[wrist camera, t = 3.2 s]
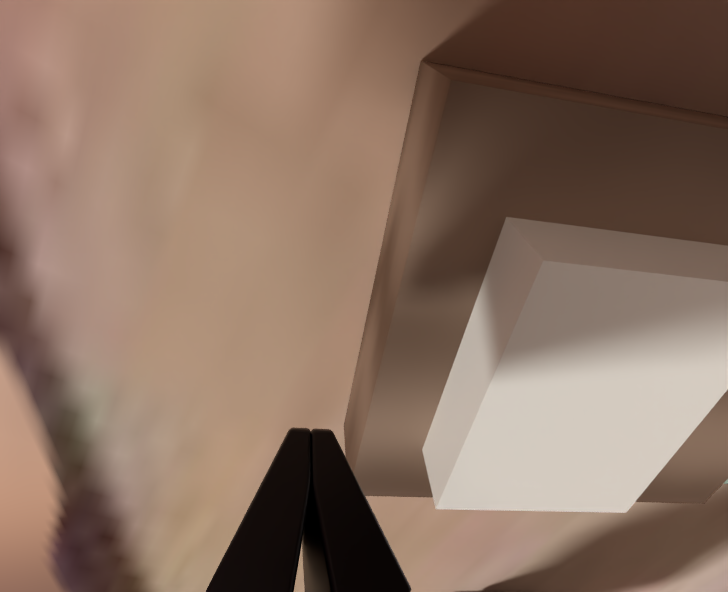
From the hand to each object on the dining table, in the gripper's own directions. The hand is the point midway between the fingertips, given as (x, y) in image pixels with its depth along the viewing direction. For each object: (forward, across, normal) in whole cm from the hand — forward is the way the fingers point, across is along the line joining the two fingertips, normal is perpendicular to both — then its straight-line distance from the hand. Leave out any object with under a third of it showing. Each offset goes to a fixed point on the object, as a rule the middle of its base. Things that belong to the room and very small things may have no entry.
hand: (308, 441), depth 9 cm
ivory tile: (+3, -7, 0) cm, 8 cm away
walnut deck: (+6, -9, 0) cm, 11 cm away
